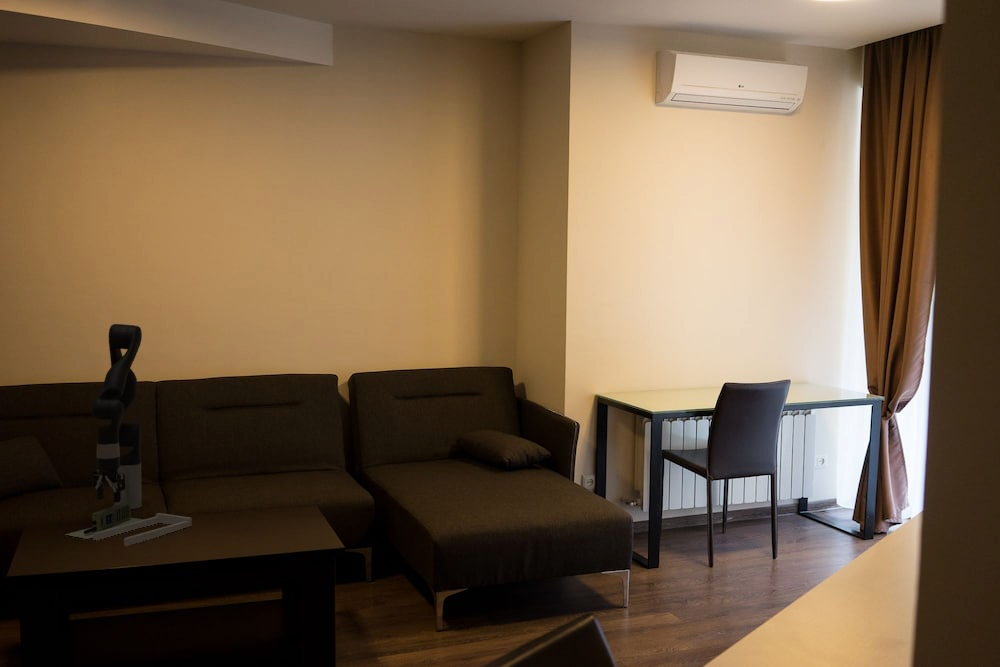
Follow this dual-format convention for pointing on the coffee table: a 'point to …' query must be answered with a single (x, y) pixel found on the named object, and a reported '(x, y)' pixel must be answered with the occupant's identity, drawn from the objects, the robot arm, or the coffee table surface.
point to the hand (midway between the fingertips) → (108, 500)
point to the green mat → (90, 535)
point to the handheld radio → (110, 517)
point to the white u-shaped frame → (174, 520)
